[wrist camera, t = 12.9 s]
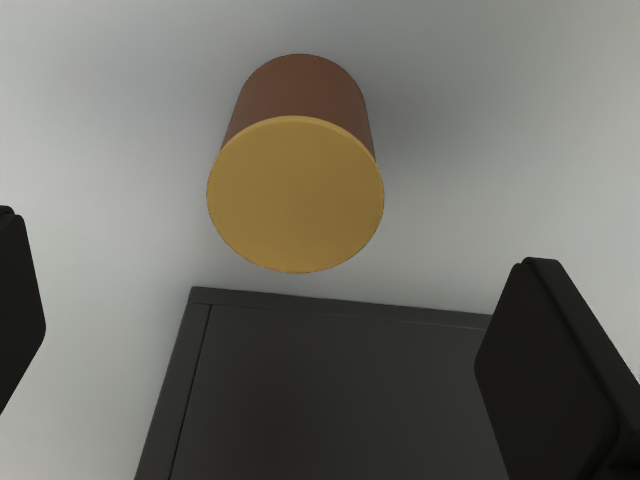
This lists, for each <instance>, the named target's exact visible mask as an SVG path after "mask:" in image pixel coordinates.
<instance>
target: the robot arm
mask: <svg viewBox="0 0 640 480" xmlns="http://www.w3.org/2000/svg"><path fill="white" fill-rule="evenodd" d="M45 332H46V322H45V317H44V312H43V307H42V303H41V298H40V293H39V288H38V284H37V279H36V274H35V269H34V265H33V260H32V255H31V250H30V246H29V241H28V236H27V231H26V227H25V222H24V219H23V218H22V216H20V215H15V213H14V211H13V209H12V208H11V207H9V206H3V205H0V415H1V413H2V412H3V410H4V408H5V406H6V405H7V403H8V401H9V399H10V398H11V396H12V394H13V392H14V391H15V389H16V387H17V386H18V384H19V382H20V380H21V379H22V377H23V375H24V373H25V372H26V370H27V368H28V366H29V365H30V363H31V361H32V359H33V358H34V356H35V354H36V352H37V351H38V349H39V347H40V346H41V344H42V342H43V340H44V336H45ZM474 373H475V377H476V380H477V383H478V386H479V389H480V392H481V395H482V398H483V401H484V404H485V407H486V410H487V413H488V416H489V419H490V423H491V426H492V429H493V432H494V435H495V438H496V441H497V444H498V447H499V450H500V453H501V456H502V459H503V462H504V465H505V468H506V471H507V474H508V477H509V480H640V385H639V383H638V382H637V380H636V379H635V377H634V376H633V374H632V373H631V371H630V369H629V368H628V366H627V365H626V363H625V362H624V360H623V359H622V357H621V356H620V354H619V353H618V351H617V349H616V348H615V346H614V345H613V343H612V342H611V340H610V339H609V337H608V336H607V334H606V333H605V331H604V329H603V328H602V326H601V325H600V323H599V322H598V320H597V319H596V317H595V316H594V314H593V313H592V311H591V309H590V308H589V306H588V305H587V303H586V302H585V300H584V299H583V297H582V296H581V294H580V293H579V291H578V290H577V288H576V286H575V285H574V283H573V282H572V280H571V279H570V277H569V276H568V274H567V273H566V271H565V270H564V268H563V266H562V265H561V263H560V262H559V261H558V260H555V259H545V258H535V257H527V258H525V259H524V260H523V261H522V262H521V263H517V264H515V265H514V266H513V268H512V269H511V272H510V274H509V277H508V279H507V282H506V284H505V286H504V289H503V291H502V294H501V296H500V299H499V301H498V304H497V306H496V309H495V311H494V313H493V316H492V318H491V321H490V323H489V326H488V328H487V331H486V333H485V335H484V338H483V340H482V343H481V345H480V348H479V350H478V353H477V355H476V358H475V362H474Z"/></svg>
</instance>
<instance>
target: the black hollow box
mask: <svg viewBox="0 0 640 480" xmlns="http://www.w3.org/2000/svg"><path fill="white" fill-rule="evenodd" d="M492 316H493V315H483V314H473V313H462V312H452V311H442V310H431V309H421V308H411V307H400V306H390V305H379V304H369V303H359V302H348V301H338V300H328V299H317V298H307V297H296V296H286V295H276V294H265V293H255V292H244V291H234V290H224V289H213V288H203V287H192V288H191V291H190V294H189V298H188V301H187V305H186V308H185V311H184V315H183V318H182V321H181V325H180V328H179V331H178V335H177V338H176V341H175V345H174V348H173V351H172V355H171V358H170V361H169V365H168V368H167V371H166V375H165V378H164V381H163V385H162V388H161V391H160V394H159V398H158V401H157V404H156V408H155V411H154V414H153V418H152V421H151V424H150V428H149V431H148V434H147V438H146V441H145V444H144V448H143V451H142V454H141V458H140V461H139V464H138V468H137V471H136V474H135V478H134V480H509V477H508V474H507V471H506V468H505V465H504V462H503V459H502V456H501V453H500V450H499V447H498V444H497V441H496V438H495V435H494V432H493V429H492V426H491V423H490V419H489V416H488V413H487V410H486V407H485V404H484V401H483V398H482V395H481V392H480V389H479V386H478V383H477V380H476V377H475V373H474V362H475V358H476V355H477V353H478V350H479V348H480V345H481V343H482V340H483V338H484V335H485V333H486V331H487V328H488V326H489V323H490V321H491V318H492Z"/></svg>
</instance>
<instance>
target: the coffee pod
mask: <svg viewBox="0 0 640 480" xmlns="http://www.w3.org/2000/svg"><path fill="white" fill-rule="evenodd" d="M206 196H207V206H208V210H209V214H210V217H211V220H212V222H213V224H214V226H215V228H216V230H217V232H218V233H219V235H220V236H221V237H222V239H223V240H224V241H225V242H226V243H227V244H228V245H229V246H230V248H232V249H233V250H234V251H235V252H236V253H238V254H239V255H240V256H242V257H243V258H245V259H247V260H248V261H250V262H252V263H254V264H256V265H259V266H261V267H264V268H267V269H271V270H274V271H279V272H286V273H310V272H316V271H321V270H324V269H328V268H331V267H334V266H336V265H339V264H340V263H342V262H344V261H346V260H348V259H349V258H351V257H352V256H354V255H355V254H356V253H358V252H359V251H360V250H361V249H362V248H363V247H364V246H365V245H366V244H367V243H368V242H369V240H370V239H371V238H372V236H373V234H374V233H375V231H376V229H377V227H378V225H379V223H380V220H381V217H382V214H383V208H384V189H383V182H382V178H381V174H380V171H379V168H378V166H377V163H376V157H375V152H374V147H373V142H372V136H371V131H370V126H369V121H368V115H367V110H366V105H365V101H364V98H363V95H362V93H361V91H360V89H359V87H358V85H357V84H356V82H355V81H354V80H353V78H352V77H351V76H350V75H349V74H348V73H347V72H346V71H345V70H344V69H342V68H341V67H339V66H338V65H337V64H335V63H333V62H331V61H329V60H327V59H324V58H321V57H318V56H314V55H308V54H292V55H286V56H282V57H279V58H276V59H273V60H271V61H269V62H267V63H265V64H264V65H263V66H261V67H260V68H258V69H257V70H256V71H255V72H254V73H253V74H252V75H251V76H250V77H249V79H248V80H247V81H246V83H245V84H244V86H243V88H242V90H241V92H240V95H239V97H238V100H237V103H236V106H235V109H234V112H233V115H232V117H231V120H230V123H229V126H228V129H227V132H226V135H225V138H224V141H223V144H222V146H221V149H220V152H219V154H218V156H217V158H216V159H215V161H214V164H213V166H212V169H211V171H210V174H209V179H208V183H207V192H206Z"/></svg>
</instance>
